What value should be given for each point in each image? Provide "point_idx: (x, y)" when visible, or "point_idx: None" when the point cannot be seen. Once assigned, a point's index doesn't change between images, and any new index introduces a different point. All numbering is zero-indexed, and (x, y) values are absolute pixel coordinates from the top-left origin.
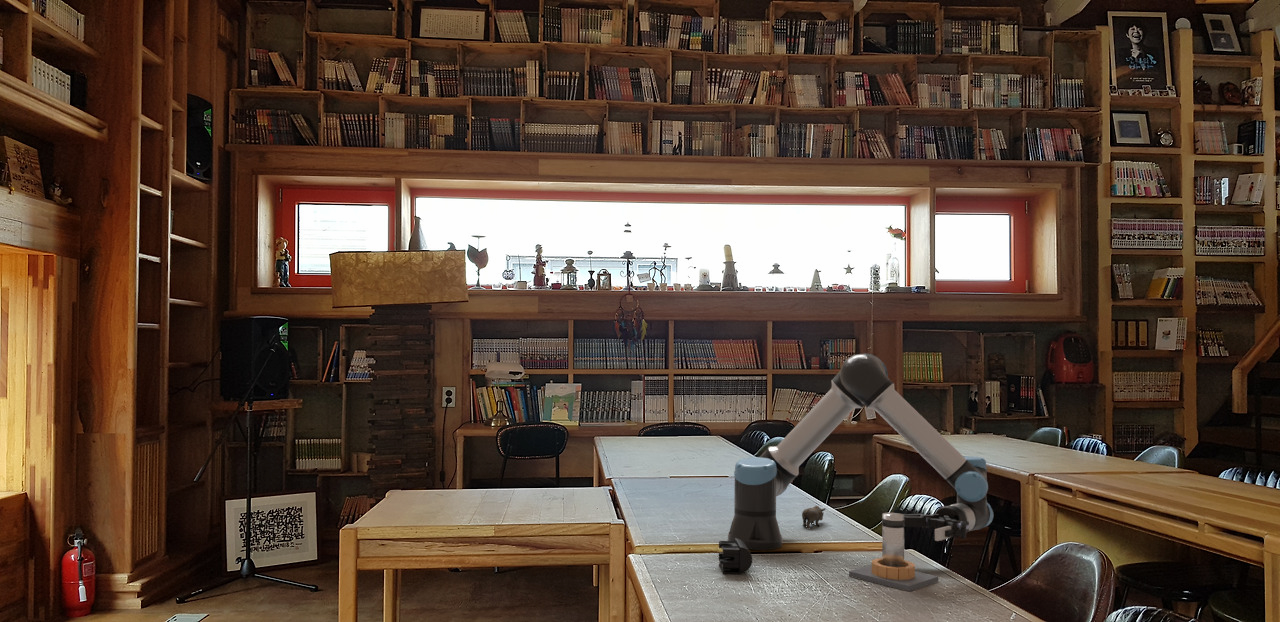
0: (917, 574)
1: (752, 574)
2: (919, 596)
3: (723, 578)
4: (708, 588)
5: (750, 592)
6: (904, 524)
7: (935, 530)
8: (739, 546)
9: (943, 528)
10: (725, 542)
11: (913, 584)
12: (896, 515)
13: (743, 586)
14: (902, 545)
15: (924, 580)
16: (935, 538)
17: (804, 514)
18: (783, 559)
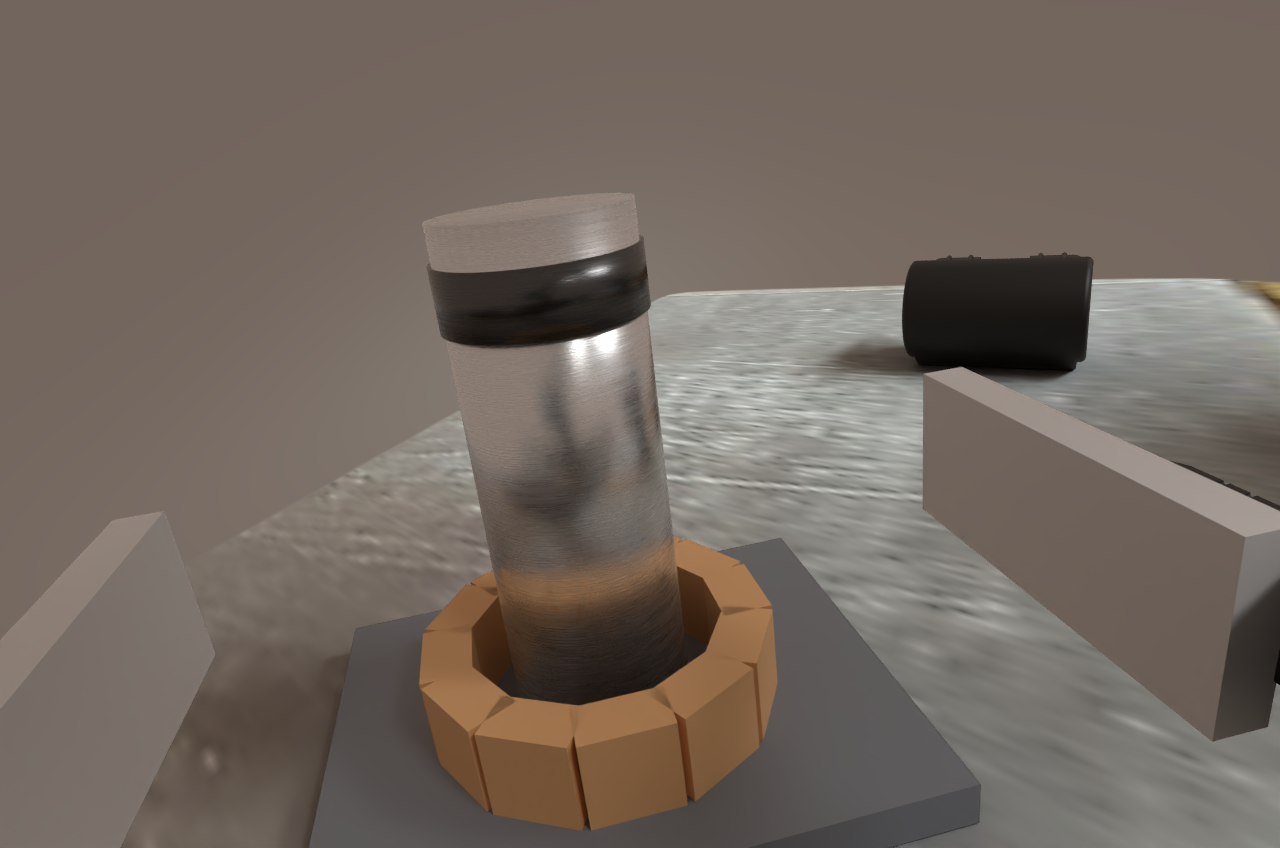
0: (474, 837)
1: (916, 379)
2: (274, 653)
3: (881, 343)
4: (788, 325)
5: (712, 358)
6: (441, 317)
7: (156, 528)
8: (927, 261)
9: (25, 619)
10: (1037, 257)
11: (351, 661)
12: (483, 213)
13: (777, 356)
14: (476, 488)
15: (333, 770)
16: (194, 629)
17: None
18: (1232, 472)
